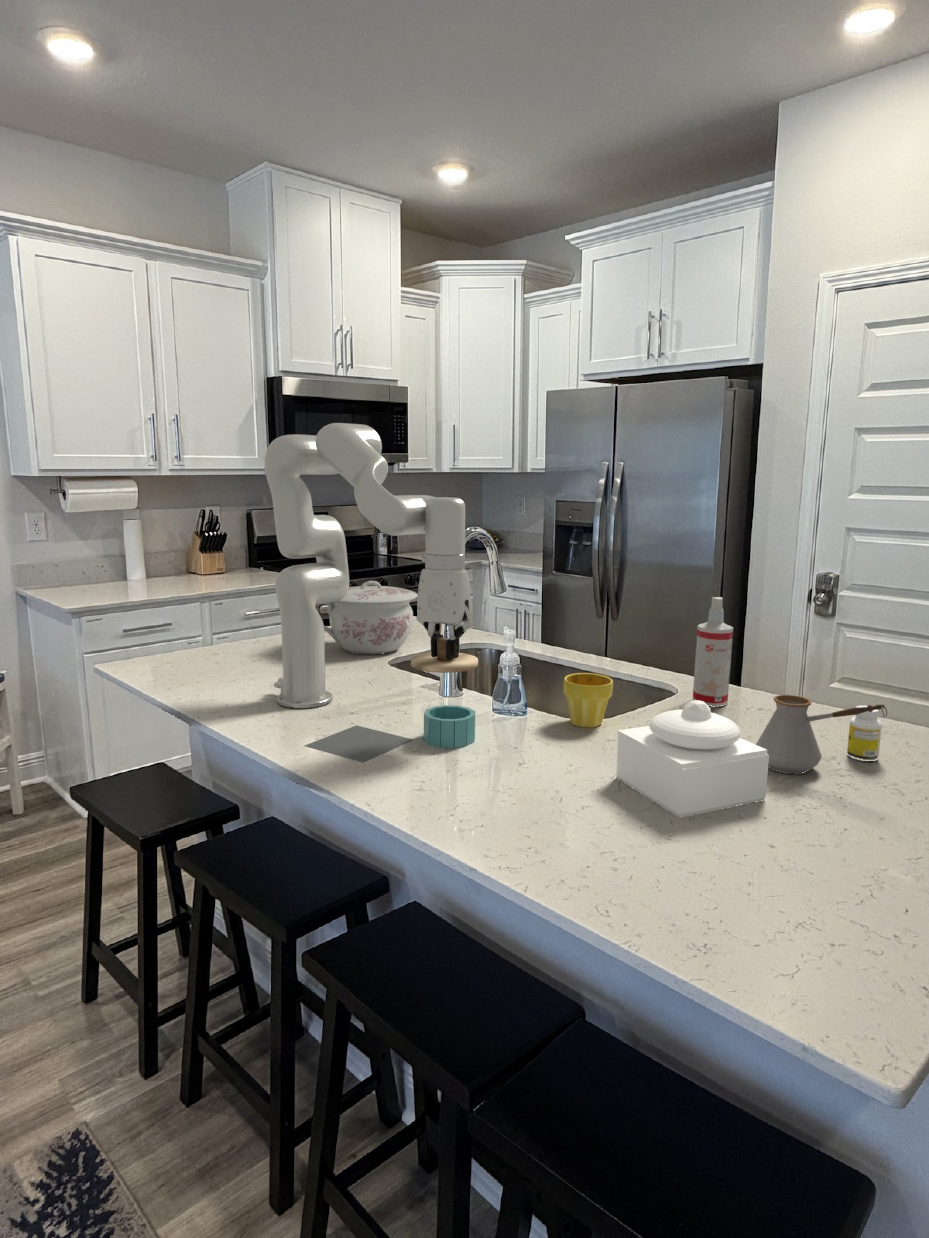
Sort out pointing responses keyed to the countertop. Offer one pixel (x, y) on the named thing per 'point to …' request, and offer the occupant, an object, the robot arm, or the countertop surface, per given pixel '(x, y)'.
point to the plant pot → (587, 697)
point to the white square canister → (692, 761)
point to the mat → (359, 743)
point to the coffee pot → (797, 734)
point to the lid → (444, 661)
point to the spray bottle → (713, 657)
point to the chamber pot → (371, 618)
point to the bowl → (449, 726)
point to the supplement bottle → (865, 735)
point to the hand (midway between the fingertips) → (444, 656)
